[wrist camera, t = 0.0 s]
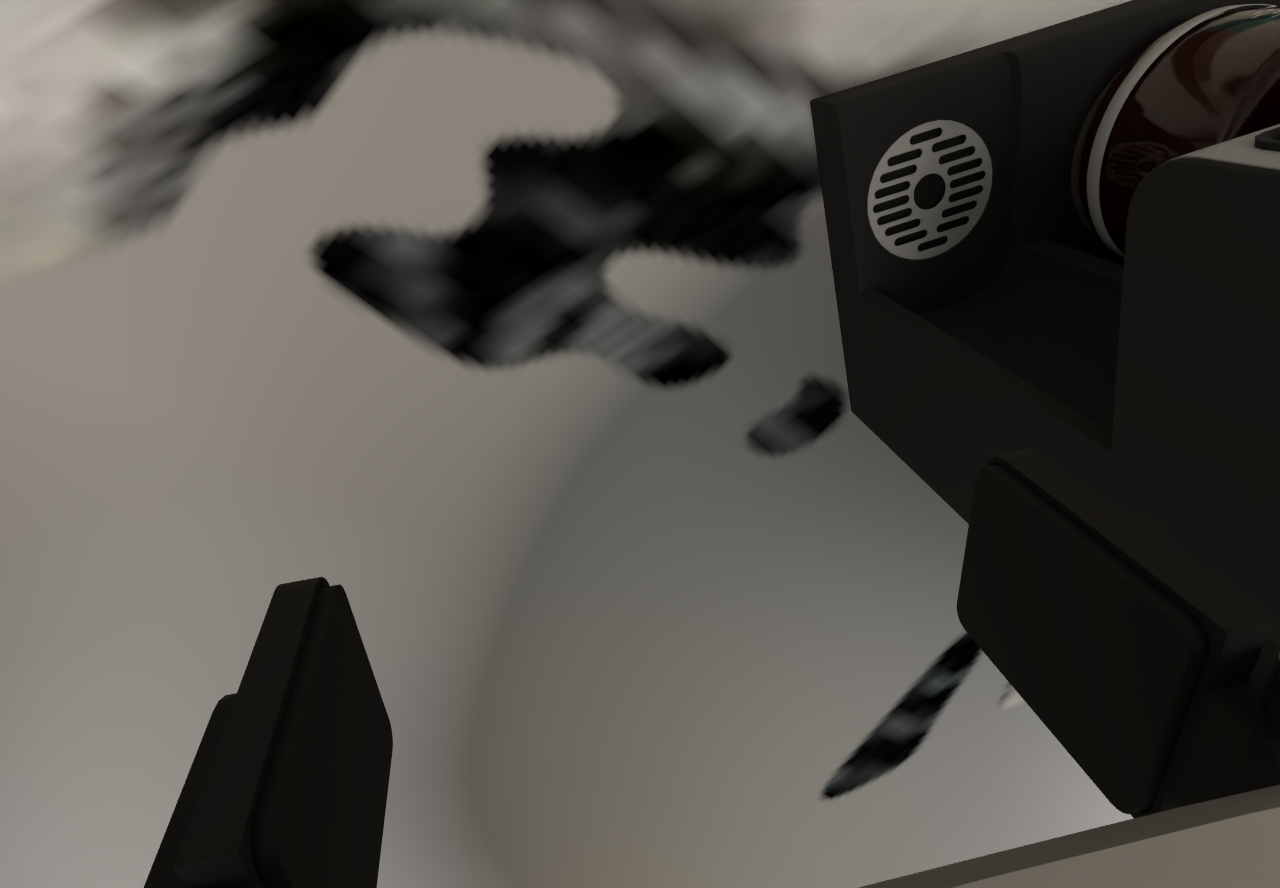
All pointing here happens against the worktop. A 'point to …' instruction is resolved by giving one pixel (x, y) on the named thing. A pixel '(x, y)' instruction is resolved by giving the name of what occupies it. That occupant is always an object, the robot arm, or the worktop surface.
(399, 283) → the worktop surface
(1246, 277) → the coffee maker
